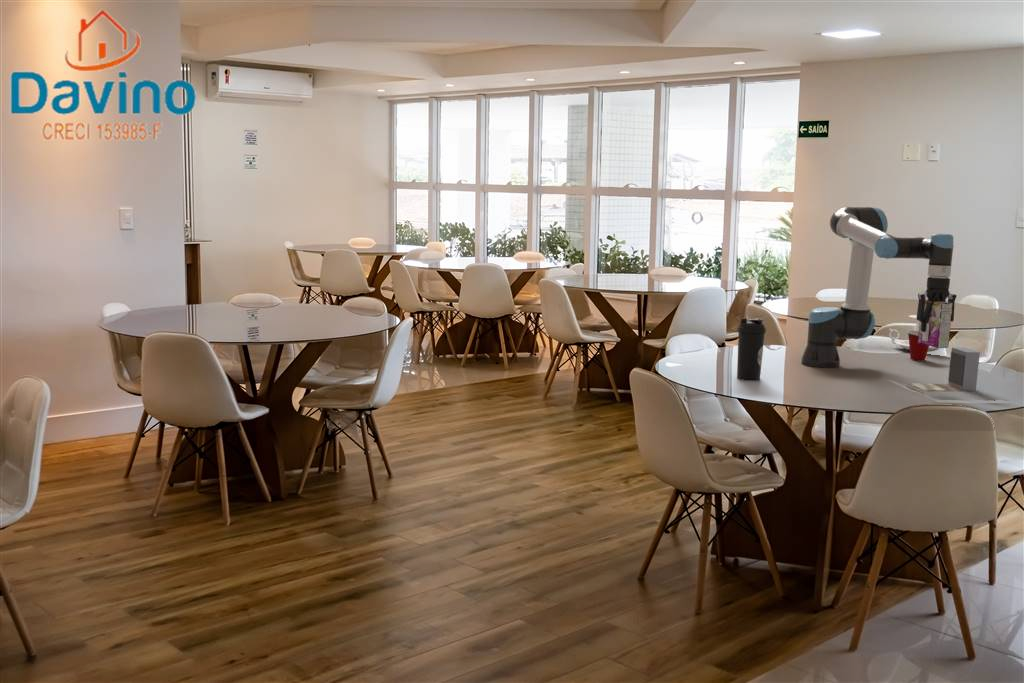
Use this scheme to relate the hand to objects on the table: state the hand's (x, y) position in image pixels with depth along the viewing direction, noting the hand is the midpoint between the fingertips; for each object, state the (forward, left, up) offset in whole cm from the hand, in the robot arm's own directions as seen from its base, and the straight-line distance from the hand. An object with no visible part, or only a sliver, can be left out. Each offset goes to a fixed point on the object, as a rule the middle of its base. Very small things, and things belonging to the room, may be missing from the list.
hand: (933, 340), depth 361 cm
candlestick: (+39, +87, -18) cm, 98 cm away
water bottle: (-62, +18, -18) cm, 67 cm away
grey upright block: (+12, -1, -17) cm, 21 cm away
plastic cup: (+28, +62, -18) cm, 71 cm away
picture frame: (+5, -1, -18) cm, 19 cm away
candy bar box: (0, 0, -2) cm, 2 cm away
